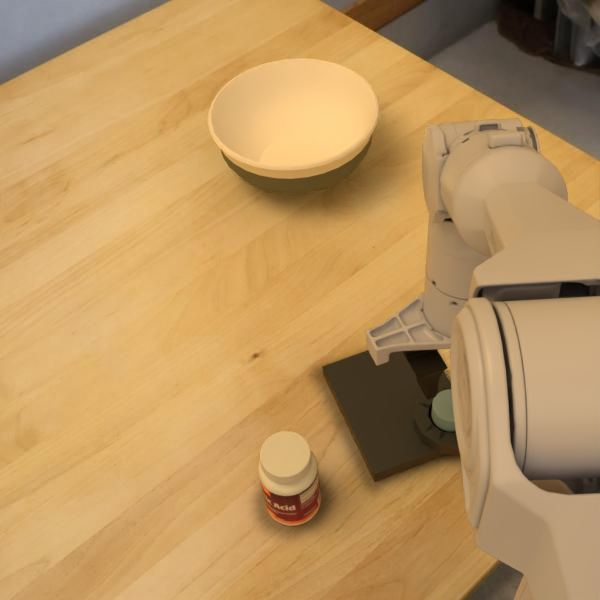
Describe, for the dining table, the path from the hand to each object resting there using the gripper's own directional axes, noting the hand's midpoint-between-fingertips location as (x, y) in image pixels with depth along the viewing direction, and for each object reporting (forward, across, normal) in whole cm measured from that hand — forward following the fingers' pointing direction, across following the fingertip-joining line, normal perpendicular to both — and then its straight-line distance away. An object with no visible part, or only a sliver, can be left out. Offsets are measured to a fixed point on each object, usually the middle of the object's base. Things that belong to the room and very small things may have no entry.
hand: (454, 378), depth 69 cm
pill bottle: (+9, +15, +1) cm, 17 cm away
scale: (+8, +3, -4) cm, 10 cm away
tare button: (+6, 0, 0) cm, 6 cm away
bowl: (+9, 0, -38) cm, 39 cm away
